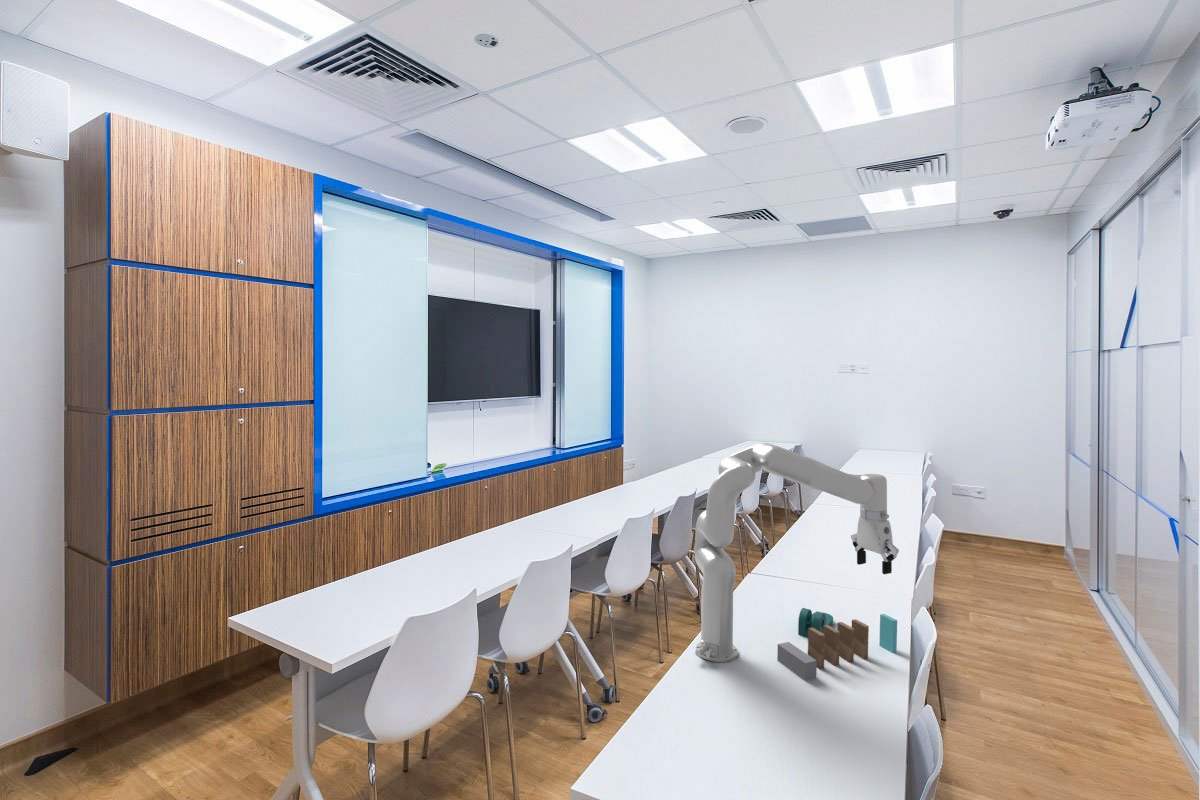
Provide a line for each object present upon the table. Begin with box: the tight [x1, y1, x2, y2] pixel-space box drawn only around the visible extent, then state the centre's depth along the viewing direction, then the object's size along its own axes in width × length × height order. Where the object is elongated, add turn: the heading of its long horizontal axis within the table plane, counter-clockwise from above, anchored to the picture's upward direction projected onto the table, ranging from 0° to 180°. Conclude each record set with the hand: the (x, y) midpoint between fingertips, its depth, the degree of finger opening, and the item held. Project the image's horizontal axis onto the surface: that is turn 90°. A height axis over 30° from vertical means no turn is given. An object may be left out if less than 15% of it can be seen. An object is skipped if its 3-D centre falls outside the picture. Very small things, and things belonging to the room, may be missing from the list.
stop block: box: [776, 641, 818, 681], centre depth 167 cm, size 4×12×5 cm, turn 20°
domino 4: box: [851, 619, 870, 660], centre depth 175 cm, size 2×5×10 cm, turn 21°
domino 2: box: [823, 625, 840, 667], centre depth 171 cm, size 2×5×10 cm, turn 20°
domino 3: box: [836, 621, 855, 663], centre depth 173 cm, size 2×5×10 cm, turn 20°
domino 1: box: [807, 628, 825, 670], centre depth 169 cm, size 2×5×10 cm, turn 21°
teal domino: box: [878, 613, 898, 654], centre depth 179 cm, size 2×5×10 cm, turn 20°
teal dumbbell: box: [797, 607, 834, 638], centre depth 194 cm, size 18×7×8 cm, turn 142°
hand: (873, 568), depth 179 cm, fingers open, 9 cm apart
